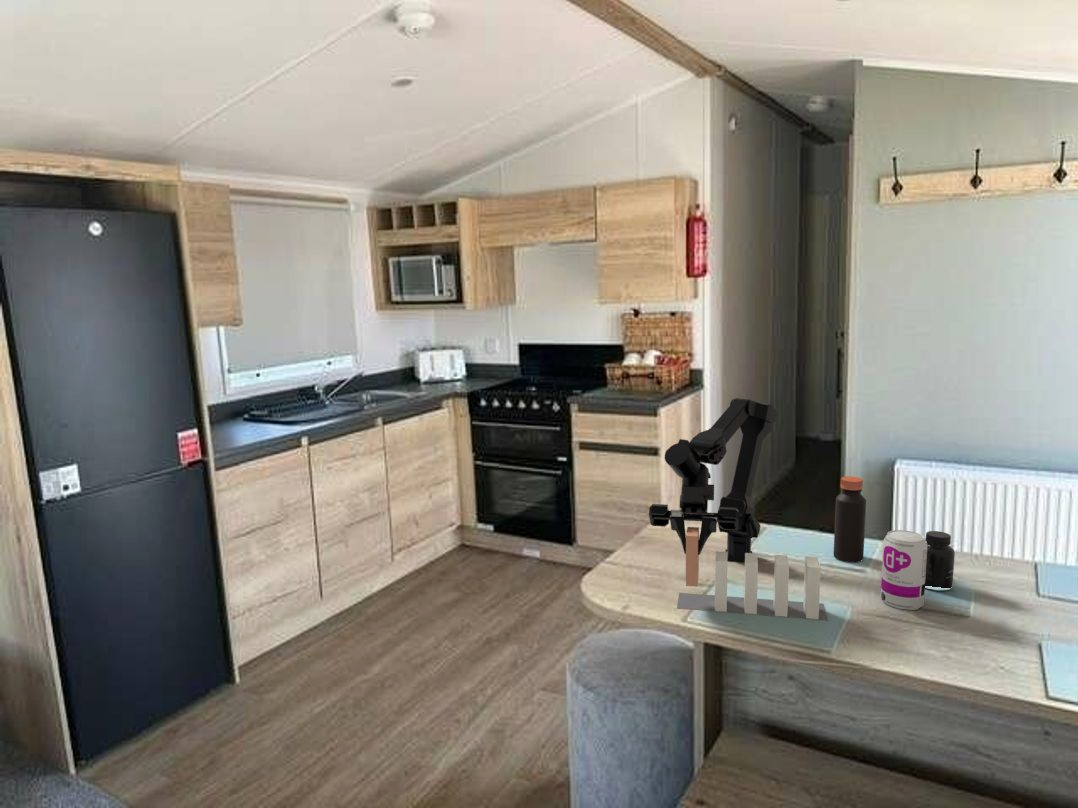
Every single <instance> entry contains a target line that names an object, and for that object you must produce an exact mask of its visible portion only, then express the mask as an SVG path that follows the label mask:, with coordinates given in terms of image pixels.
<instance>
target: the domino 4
mask: <svg viewBox="0 0 1078 808" xmlns="http://www.w3.org/2000/svg"><path fill="white" fill-rule="evenodd" d="M821 569H822V568H821V564H820V561H819V557H817V556H816V557H815V556H805V557H804V579H803V581H804V583H803V602H804V605H803V607H804V611H805V616H806V618H808V619H807V620H812V619H819V603H820V590H821V589H820V588H821Z"/></svg>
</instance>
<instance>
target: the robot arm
mask: <svg viewBox="0 0 1078 808" xmlns="http://www.w3.org/2000/svg"><path fill="white" fill-rule="evenodd" d="M773 406H774V405H772V403H766V402H765V403H764V402H763V403H761V402H756V401H755V400H752V399H751V398H750V399H749V398H742V397H741V398H740V397H736V398H732V400H731V401H730V403H729V406H728V407H727V408H726V410H725V411H724V412H723V413H722V415H721V416H720V417H718V419H717V420H716V421H715V422H714V424H712V426H711V427H709V428H708V429H707V430H703V431H700V432H698V433H697V434H696V435H695V436H693V437H692V438H691V439H690V441H689V440H688V439H682V438H680V439H679V440H678V442H677V443H675V444H672V445H671V446H669V448H668V449H666V450H665V453H664V461H665V463H666V464H667V465H668V466H669V467H670V468H671V470H672V471H673V472H674V473H675V474H676V476H678V477H679V478H682V480H681V492H680V495H679V509H670V510H669V504H662V503H661V504H660V503H652V504H651V505H649V509H648V510H649V511H648V517H649V522H650V526H652V527H662V528H665V527H667V526H668V525H669V524H670V529H671V530H672V531H675V532H676V534H677V536H678V538H679V540H680V542H681V543H680V544H681V547H682V549H683V553H684V555H686V527H685V522H687V521H688V522H689V521H690V522H701V524H700V525H701V526H700V531H699V543H698V555H699V556H700V555H701V554H702V551H703V549H704V547H705V545H706V543H707V541H708V539H709V537H710V536H711V534H712V533H713V534H714V533H715V534H716V533H717V527H718V530H719V532H720V533H726V535H727V536H726V537H727V538H726V539H727V540H726V541H727V543H726V547H727V548H726V549H725V551H724V552H728V557H727V561H732V562H733V561H734V562H745V553H753V550H752V539H753V538H754V539H755V538H759V535H760V531H761V524H760V523H759V521H758V519H757V518H756V516H755V513H756V508H755V505H754V502H753V500H752V492H753V488H754V482H755V478H756V474H757V470H758V464H759V460H760V455H761V449H762V445H763V441H764V439H765V438H766V437H767V436H768V435H769V434H770V433H771V432H772V430H773V428H774V424H775V422H776V421H777V410H776V409H775V408H774V407H773ZM739 429H740V431H741V434H742V438H741V443H740V446H739V447H740V448H739V453H738V456H737V457H738V458H737V461H736V466H735V471H734V475H733V480H732V485H731V490H730V492H729V493H728V494H727V495H726V496H722V497H721V498H720V502H719V507H718V510H717V512H708V505H709V503H708V501H715V484H709V479H711V478H712V477H711V473H710V472H709V471H710V470H709V468H708V467H707V465H706V464H708V465H714V466H717V465H719V464H720V463H721V462H722V461H723V459H724V457H725V455H726V454H727V444H728V442H729V441H730V440H731V438H732V437H733V436H734V434H736V432H737V431H738V430H739Z"/></svg>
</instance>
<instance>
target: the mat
mask: <svg viewBox="0 0 1078 808" xmlns="http://www.w3.org/2000/svg"><path fill="white" fill-rule="evenodd" d="M803 605H804V601H793V600H788V612H787V617H786V618H789V619H790V618H791V619H801V620H809V619H808V618H806V616H805V611H804V607H803ZM677 609H679V610H691V611H704V612H715V613H723V612H722V611H715V594H714V595H713V594H704V593H703V594H702V593H701V594H700V593H690V592H679V593H678V598H677V604H676V610H677ZM725 613H726V614H727V613H729V614H740V615H742V614H743V615H748V614H747V613H745V611H744V596H743V597H741V596H731V595H730V596H729V595H727V612H725ZM750 615H753V616H764V617H765V616H766V617H779V618H785V617H784V616H775V612H774V599H767V598H766V599H765V598H757V614H750ZM811 620H812V621H813V620H814V621H827V622H828V621H829V618H828V615H827V612H826V607H825V604H824V603H822V602H821V603H820V602H819V619H811Z"/></svg>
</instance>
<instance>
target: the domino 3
mask: <svg viewBox="0 0 1078 808" xmlns="http://www.w3.org/2000/svg"><path fill="white" fill-rule="evenodd" d="M788 559H789V558H788V556H787V554H786V555H785V554H784V555H783V554H774V569H773V570H774V571H773V572H774V574H773V575H774V576H773V579H774V580H773V600H774V612H775V616H774V617H776V616H784V617H783V618H788V617H787V612H788V601H789V579H790V578H789V574H790V573H789V571H790V564H789V560H788Z"/></svg>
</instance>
